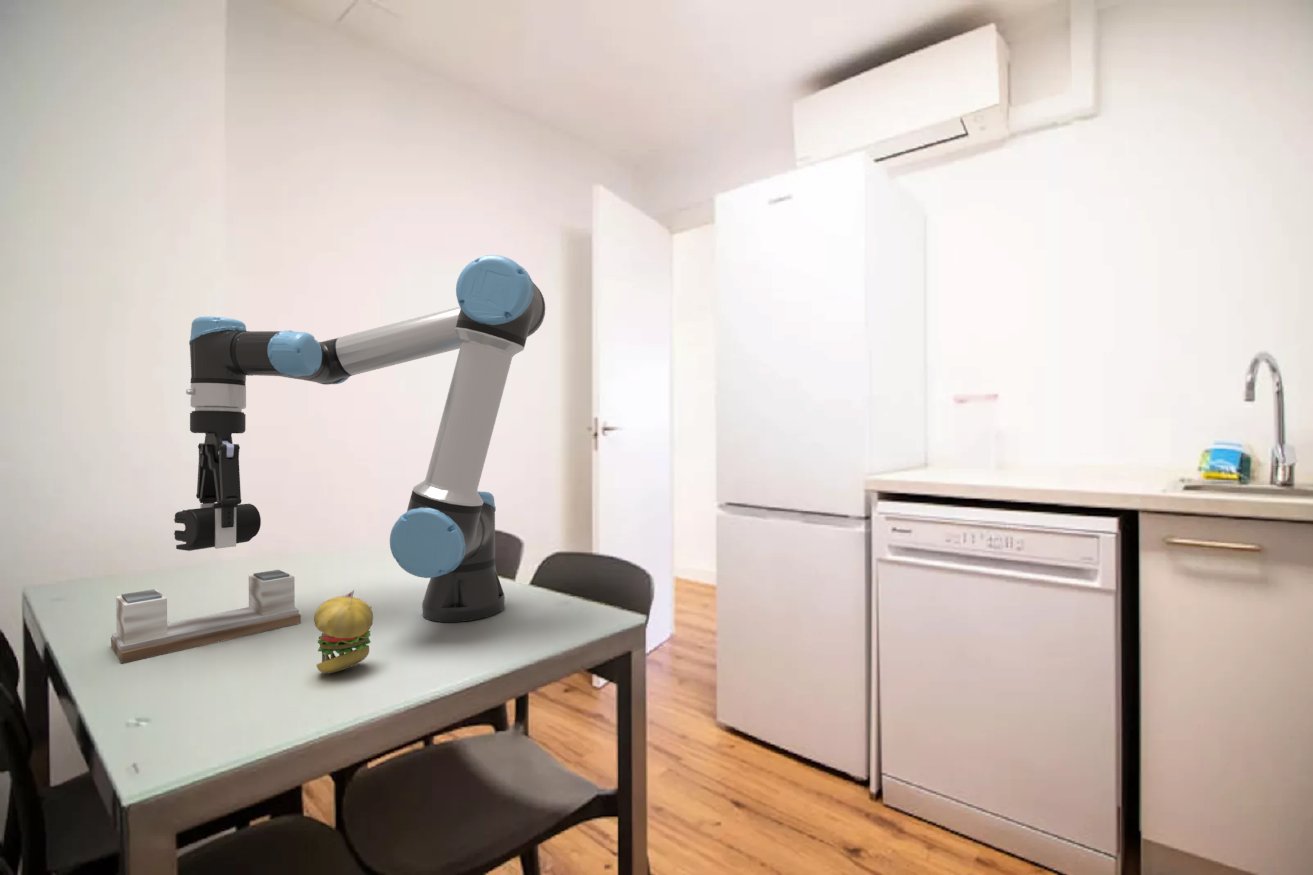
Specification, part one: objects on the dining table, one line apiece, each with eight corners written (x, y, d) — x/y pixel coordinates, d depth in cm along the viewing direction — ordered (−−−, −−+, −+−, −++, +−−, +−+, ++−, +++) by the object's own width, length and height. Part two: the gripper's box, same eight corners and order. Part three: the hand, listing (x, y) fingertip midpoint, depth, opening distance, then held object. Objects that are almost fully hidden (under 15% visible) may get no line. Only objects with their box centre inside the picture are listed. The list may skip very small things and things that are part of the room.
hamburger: (351, 658, 88) (351, 579, 88) (385, 666, 85) (384, 584, 85) (302, 677, 81) (301, 592, 81) (336, 687, 78) (335, 598, 78)
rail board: (300, 623, 105) (300, 575, 105) (122, 663, 86) (121, 605, 86) (280, 611, 112) (279, 566, 112) (111, 646, 94) (110, 593, 94)
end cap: (197, 553, 92) (197, 510, 92) (171, 549, 95) (171, 508, 95) (261, 542, 101) (261, 504, 101) (235, 539, 104) (236, 502, 104)
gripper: (175, 410, 102) (174, 539, 102) (208, 407, 88) (207, 555, 88) (226, 412, 107) (226, 534, 107) (265, 409, 94) (264, 548, 94)
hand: (217, 543), depth 98 cm, fingers closed on end cap, 8 cm apart
